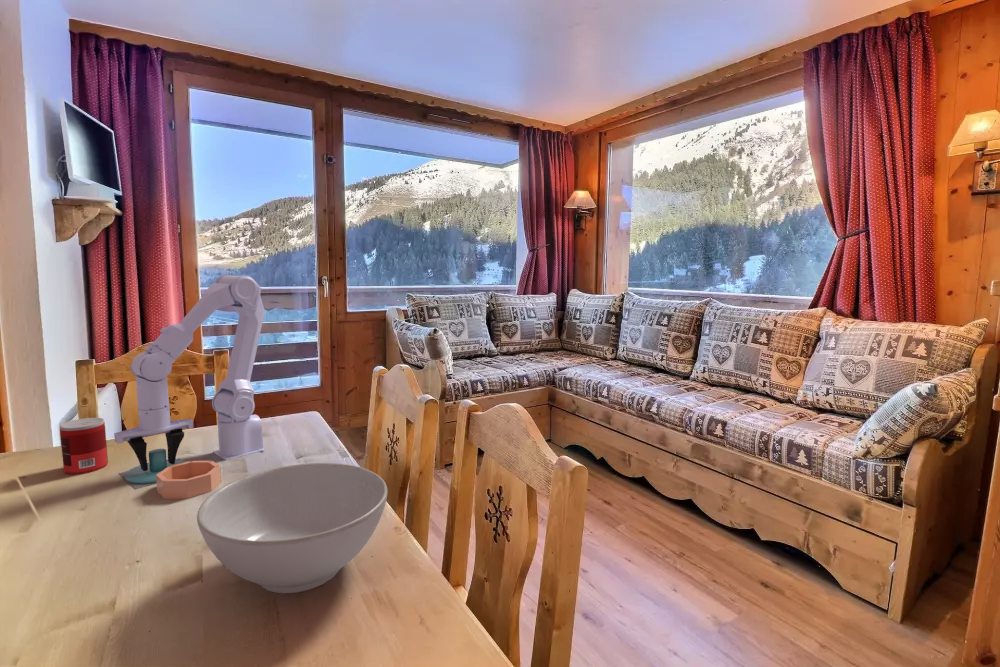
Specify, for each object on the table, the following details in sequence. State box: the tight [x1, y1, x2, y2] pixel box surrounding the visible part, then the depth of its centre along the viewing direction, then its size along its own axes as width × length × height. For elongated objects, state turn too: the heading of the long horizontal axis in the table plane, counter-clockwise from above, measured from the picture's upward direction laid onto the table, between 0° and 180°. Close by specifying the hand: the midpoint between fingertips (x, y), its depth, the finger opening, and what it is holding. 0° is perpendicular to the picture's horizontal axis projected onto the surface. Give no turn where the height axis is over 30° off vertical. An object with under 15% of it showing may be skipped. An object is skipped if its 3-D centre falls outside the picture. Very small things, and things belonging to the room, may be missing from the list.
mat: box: [118, 458, 182, 490], centre depth 116 cm, size 12×12×1 cm
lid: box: [125, 448, 188, 484], centre depth 115 cm, size 12×12×5 cm
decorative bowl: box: [196, 462, 389, 594], centre depth 80 cm, size 27×27×12 cm
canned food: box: [59, 417, 109, 476], centre depth 117 cm, size 8×8×11 cm
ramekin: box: [156, 460, 222, 500], centre depth 109 cm, size 11×11×4 cm
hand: (158, 466), depth 116 cm, fingers open, 5 cm apart
